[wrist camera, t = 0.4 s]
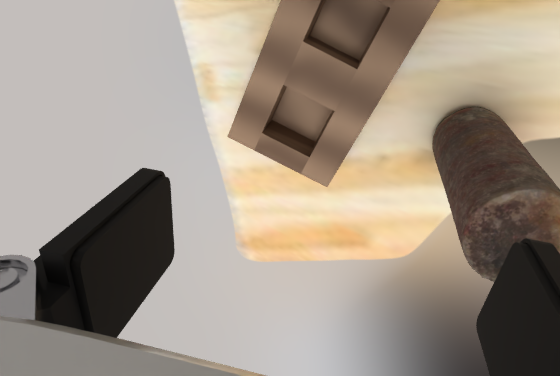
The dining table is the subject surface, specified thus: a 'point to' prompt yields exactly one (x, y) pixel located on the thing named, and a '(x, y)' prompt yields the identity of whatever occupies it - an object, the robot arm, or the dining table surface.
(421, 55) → the dining table surface
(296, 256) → the dining table surface
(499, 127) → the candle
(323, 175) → the hole block
